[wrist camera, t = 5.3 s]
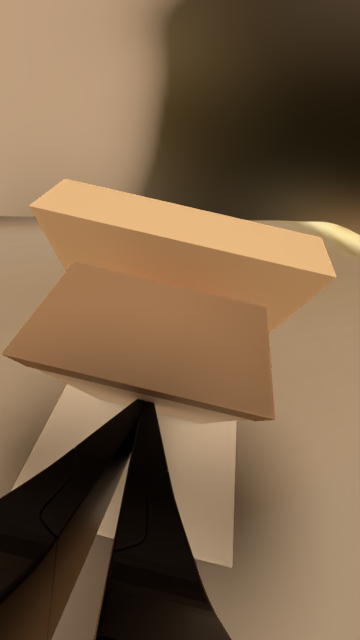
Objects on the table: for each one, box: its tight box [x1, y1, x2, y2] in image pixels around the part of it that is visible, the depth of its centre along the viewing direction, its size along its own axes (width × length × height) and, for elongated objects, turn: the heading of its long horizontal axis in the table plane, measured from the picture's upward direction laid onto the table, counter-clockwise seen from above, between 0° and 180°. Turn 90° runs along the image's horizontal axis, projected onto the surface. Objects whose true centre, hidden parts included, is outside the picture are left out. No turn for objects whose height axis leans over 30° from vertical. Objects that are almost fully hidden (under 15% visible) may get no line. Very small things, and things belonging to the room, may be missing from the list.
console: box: [11, 179, 336, 568], centre depth 10 cm, size 16×14×12 cm
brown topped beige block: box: [2, 262, 275, 424], centre depth 10 cm, size 4×8×10 cm, turn 78°
